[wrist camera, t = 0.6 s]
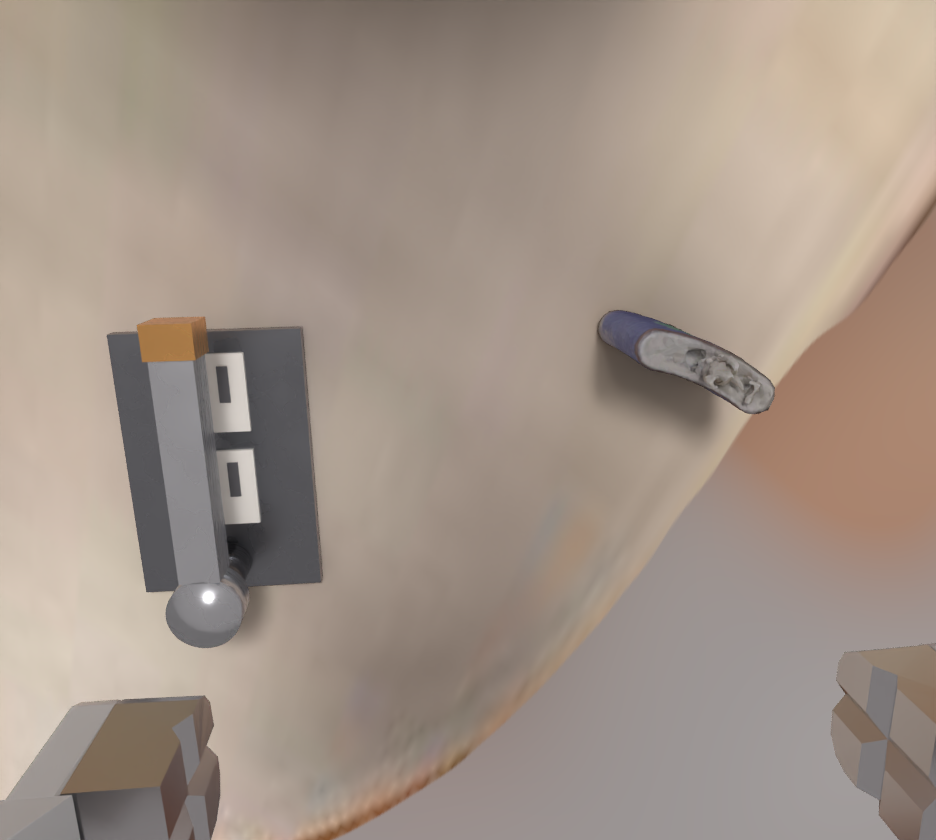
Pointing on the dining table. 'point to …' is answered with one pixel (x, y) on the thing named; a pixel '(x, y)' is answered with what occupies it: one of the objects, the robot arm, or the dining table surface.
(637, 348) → the flask
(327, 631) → the dining table surface
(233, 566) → the dark grey cylinder
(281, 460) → the chassis plate
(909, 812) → the robot arm
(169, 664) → the dining table surface
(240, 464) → the plate
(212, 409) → the label plate
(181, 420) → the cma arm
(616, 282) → the dining table surface
